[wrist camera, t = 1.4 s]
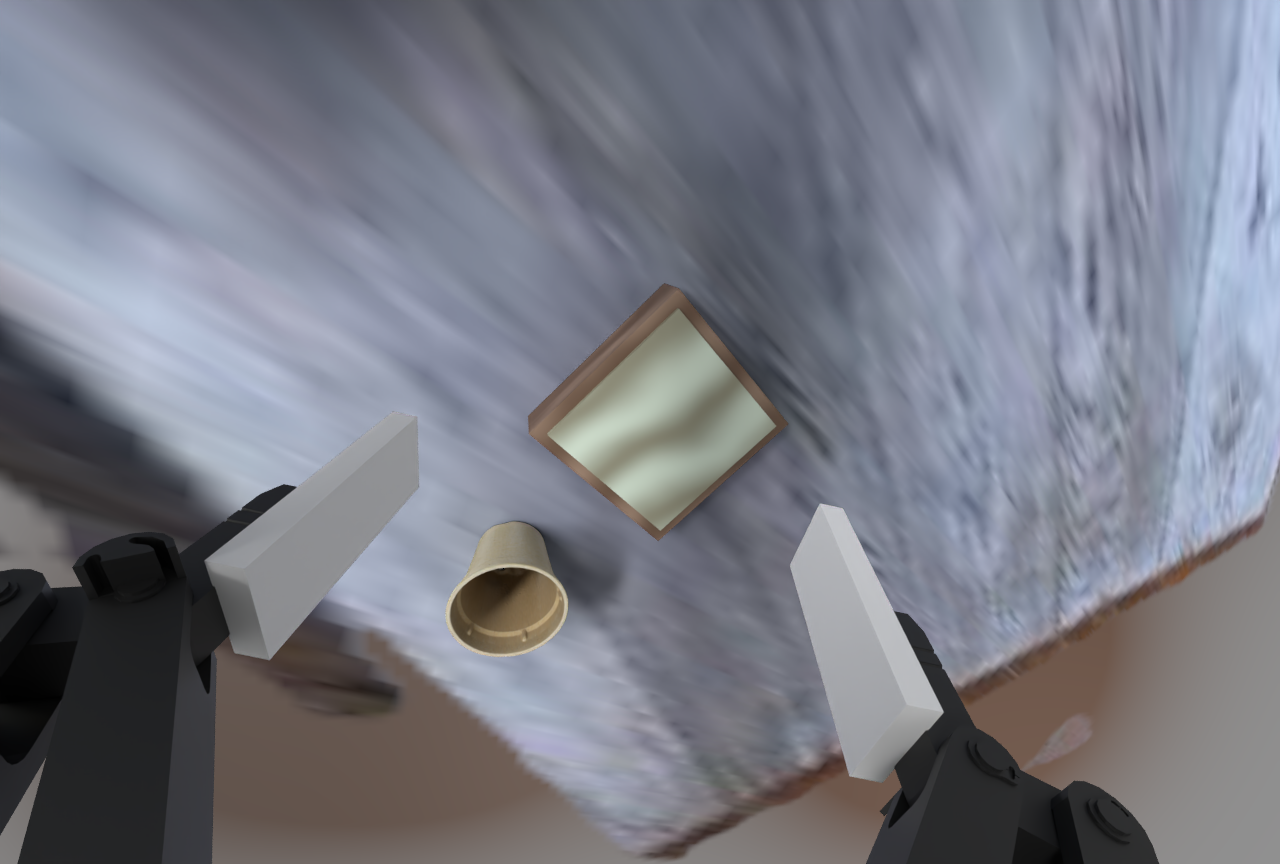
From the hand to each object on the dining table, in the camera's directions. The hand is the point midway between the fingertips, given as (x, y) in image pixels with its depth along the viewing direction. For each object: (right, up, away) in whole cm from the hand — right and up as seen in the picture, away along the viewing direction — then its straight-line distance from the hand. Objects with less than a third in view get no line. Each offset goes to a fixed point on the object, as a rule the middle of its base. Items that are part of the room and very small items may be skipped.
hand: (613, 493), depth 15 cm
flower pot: (-12, -9, +30) cm, 33 cm away
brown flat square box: (+2, +4, +28) cm, 28 cm away
